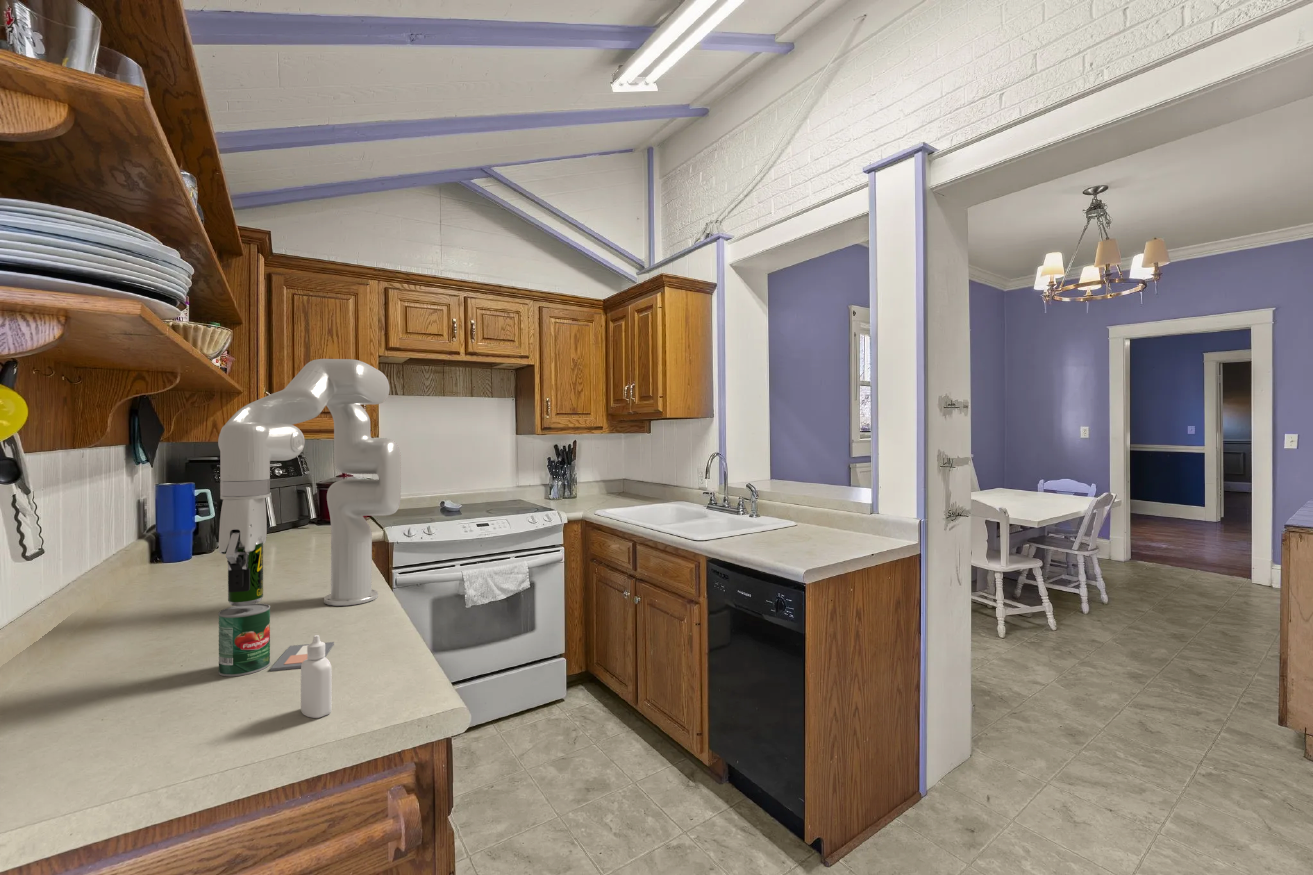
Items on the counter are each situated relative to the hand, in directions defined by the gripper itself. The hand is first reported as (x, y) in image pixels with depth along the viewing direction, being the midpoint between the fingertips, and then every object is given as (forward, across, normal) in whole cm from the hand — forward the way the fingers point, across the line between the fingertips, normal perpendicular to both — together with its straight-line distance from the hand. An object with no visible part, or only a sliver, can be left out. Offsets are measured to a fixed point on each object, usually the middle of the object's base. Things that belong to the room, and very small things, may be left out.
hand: (245, 585), depth 109 cm
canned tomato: (+15, 0, 0) cm, 15 cm away
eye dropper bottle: (+15, +23, +17) cm, 33 cm away
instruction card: (+15, -3, +9) cm, 18 cm away
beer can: (+3, 0, 0) cm, 3 cm away
